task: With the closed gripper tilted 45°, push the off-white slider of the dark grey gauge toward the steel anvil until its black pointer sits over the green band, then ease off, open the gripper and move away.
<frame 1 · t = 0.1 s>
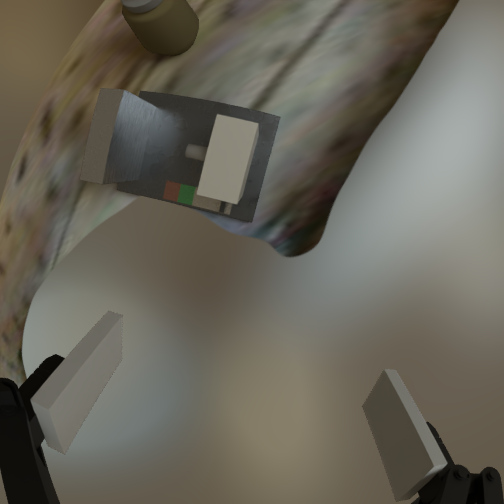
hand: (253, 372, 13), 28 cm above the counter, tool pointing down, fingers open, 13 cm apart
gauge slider: (215, 167, 32), point 6 cm above the counter, slide at 0.0 cm
squeeze bottle: (176, 39, 33), on the counter
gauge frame: (195, 152, 37), on the counter
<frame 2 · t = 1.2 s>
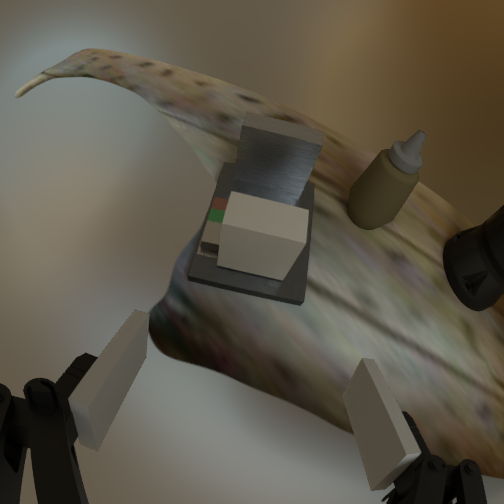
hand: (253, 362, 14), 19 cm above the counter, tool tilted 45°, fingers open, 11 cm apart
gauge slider: (250, 225, 33), point 6 cm above the counter, slide at 0.0 cm
squeeze bottle: (362, 215, 45), on the counter
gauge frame: (258, 229, 41), on the counter
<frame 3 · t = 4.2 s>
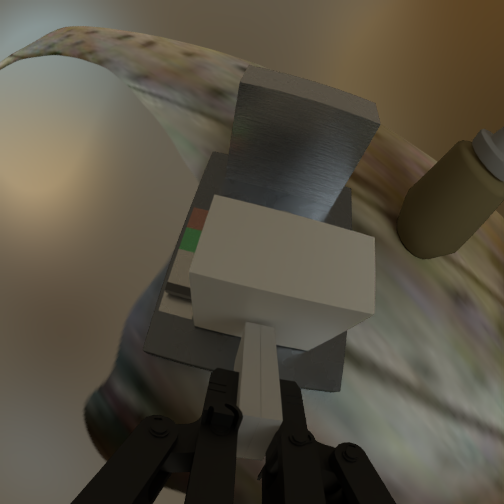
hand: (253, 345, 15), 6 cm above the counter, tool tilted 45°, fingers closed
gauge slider: (254, 261, 17), point 6 cm above the counter, slide at 0.6 cm, touching gripper
squeeze bottle: (416, 237, 29), on the counter
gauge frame: (264, 262, 25), on the counter
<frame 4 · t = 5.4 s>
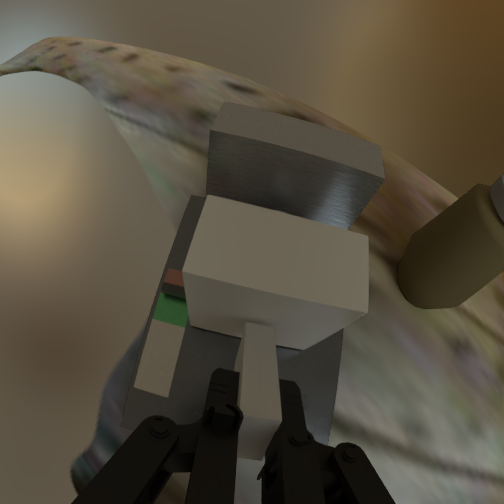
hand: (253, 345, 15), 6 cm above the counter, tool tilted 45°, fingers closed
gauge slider: (249, 260, 17), point 6 cm above the counter, slide at 6.2 cm, touching gripper
squeeze bottle: (417, 282, 26), on the counter
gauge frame: (247, 327, 22), on the counter
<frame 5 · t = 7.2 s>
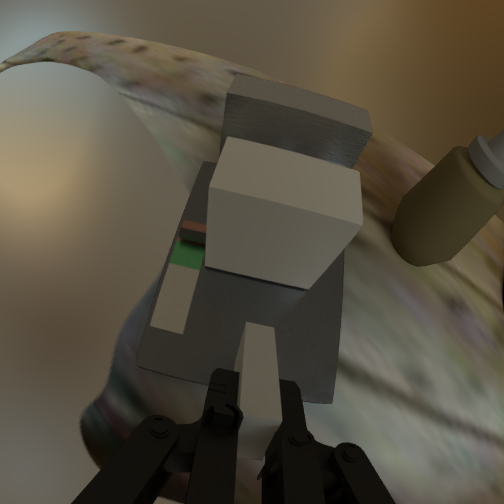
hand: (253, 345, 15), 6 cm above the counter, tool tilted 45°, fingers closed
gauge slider: (259, 200, 20), point 6 cm above the counter, slide at 6.4 cm
squeeze bottle: (410, 243, 29), on the counter
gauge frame: (256, 274, 24), on the counter
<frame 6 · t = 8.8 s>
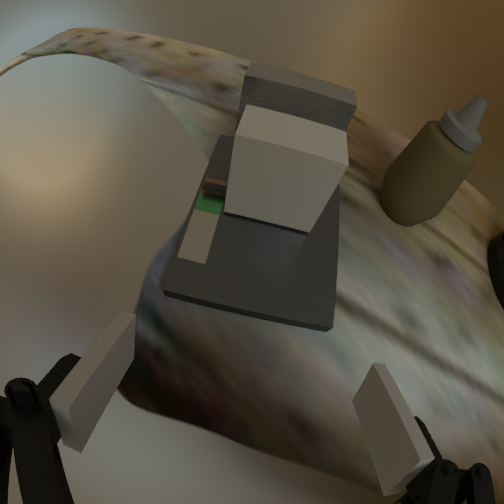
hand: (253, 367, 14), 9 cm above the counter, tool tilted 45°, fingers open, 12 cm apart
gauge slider: (269, 157, 25), point 6 cm above the counter, slide at 6.4 cm
squeeze bottle: (398, 208, 34), on the counter
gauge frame: (265, 222, 29), on the counter
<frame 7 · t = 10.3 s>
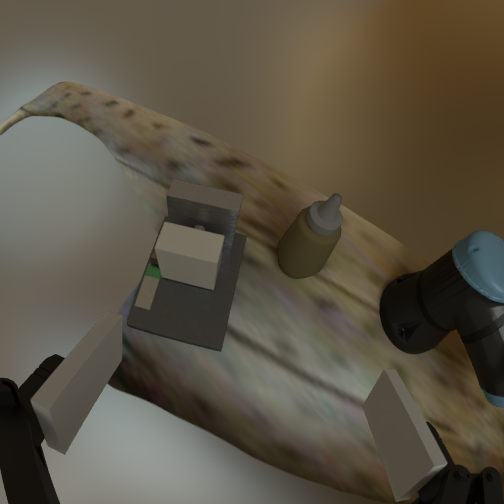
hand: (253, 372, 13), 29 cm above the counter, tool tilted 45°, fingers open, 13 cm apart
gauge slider: (184, 246, 41), point 6 cm above the counter, slide at 6.4 cm
squeeze bottle: (295, 263, 50), on the counter
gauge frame: (189, 281, 45), on the counter
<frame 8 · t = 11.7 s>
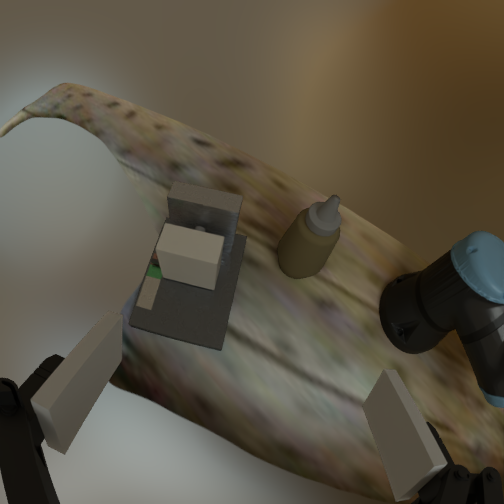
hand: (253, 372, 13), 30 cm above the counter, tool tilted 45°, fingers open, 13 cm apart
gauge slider: (185, 247, 42), point 6 cm above the counter, slide at 6.4 cm
squeeze bottle: (295, 263, 51), on the counter
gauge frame: (190, 281, 46), on the counter
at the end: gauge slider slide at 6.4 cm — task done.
